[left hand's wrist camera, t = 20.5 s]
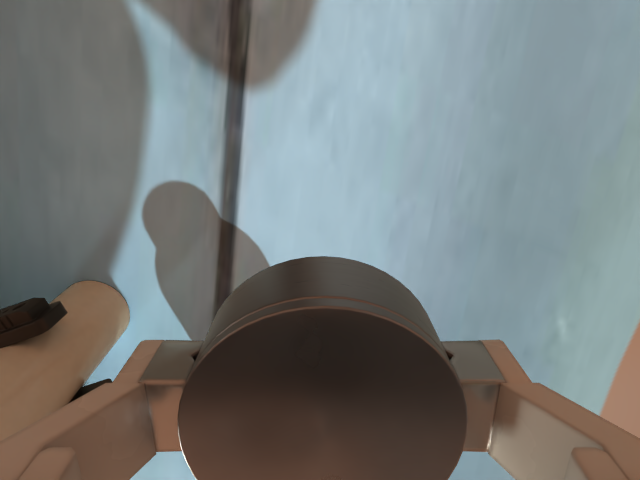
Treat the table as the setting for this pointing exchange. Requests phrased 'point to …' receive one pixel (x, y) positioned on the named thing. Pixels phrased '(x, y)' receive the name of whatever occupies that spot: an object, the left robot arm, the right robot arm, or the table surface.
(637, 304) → the table surface
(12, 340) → the right robot arm
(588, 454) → the left robot arm
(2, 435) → the slim beige bottle
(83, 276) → the table surface
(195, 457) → the lid
